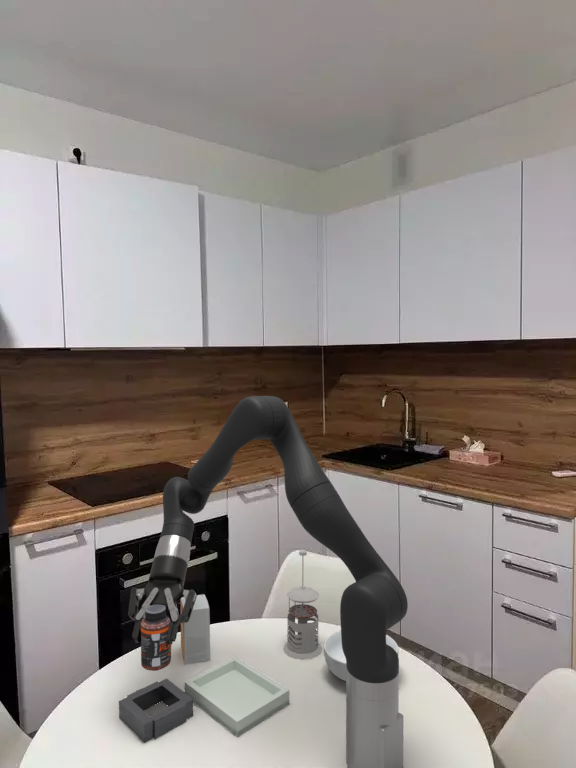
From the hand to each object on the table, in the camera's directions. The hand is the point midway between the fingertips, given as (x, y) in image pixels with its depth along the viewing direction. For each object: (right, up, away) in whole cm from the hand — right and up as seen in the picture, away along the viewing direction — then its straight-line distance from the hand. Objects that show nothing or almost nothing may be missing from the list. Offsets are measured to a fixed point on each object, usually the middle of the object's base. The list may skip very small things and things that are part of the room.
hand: (153, 642), depth 105 cm
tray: (+16, -16, +8) cm, 24 cm away
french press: (+30, -15, +29) cm, 44 cm away
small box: (+4, -16, +26) cm, 30 cm away
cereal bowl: (+43, -16, +17) cm, 49 cm away
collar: (0, -16, +2) cm, 16 cm away
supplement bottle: (0, -6, +2) cm, 6 cm away
